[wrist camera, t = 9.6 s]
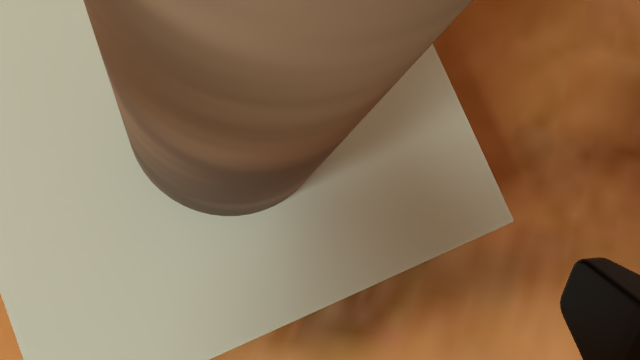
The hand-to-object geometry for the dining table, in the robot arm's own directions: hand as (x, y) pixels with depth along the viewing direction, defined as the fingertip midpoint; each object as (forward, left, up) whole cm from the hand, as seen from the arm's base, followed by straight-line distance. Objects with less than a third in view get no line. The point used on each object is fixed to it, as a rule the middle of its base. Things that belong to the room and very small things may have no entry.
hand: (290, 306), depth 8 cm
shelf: (+5, -2, -12) cm, 13 cm away
